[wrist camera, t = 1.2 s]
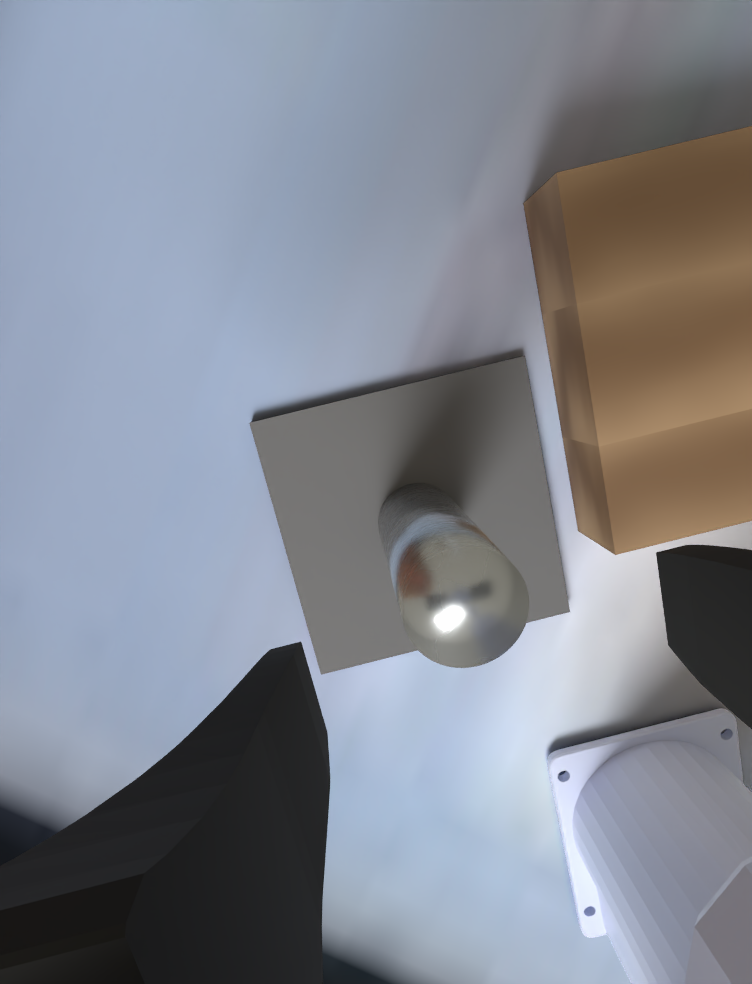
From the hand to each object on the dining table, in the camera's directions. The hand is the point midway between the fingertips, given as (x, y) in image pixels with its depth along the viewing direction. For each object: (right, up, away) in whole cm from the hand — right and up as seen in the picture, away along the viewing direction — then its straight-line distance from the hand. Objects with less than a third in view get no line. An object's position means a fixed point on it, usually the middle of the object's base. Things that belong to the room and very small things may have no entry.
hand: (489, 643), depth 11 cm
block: (+12, +9, +10) cm, 18 cm away
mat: (-1, +2, +10) cm, 11 cm away
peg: (-1, +2, +10) cm, 10 cm away
